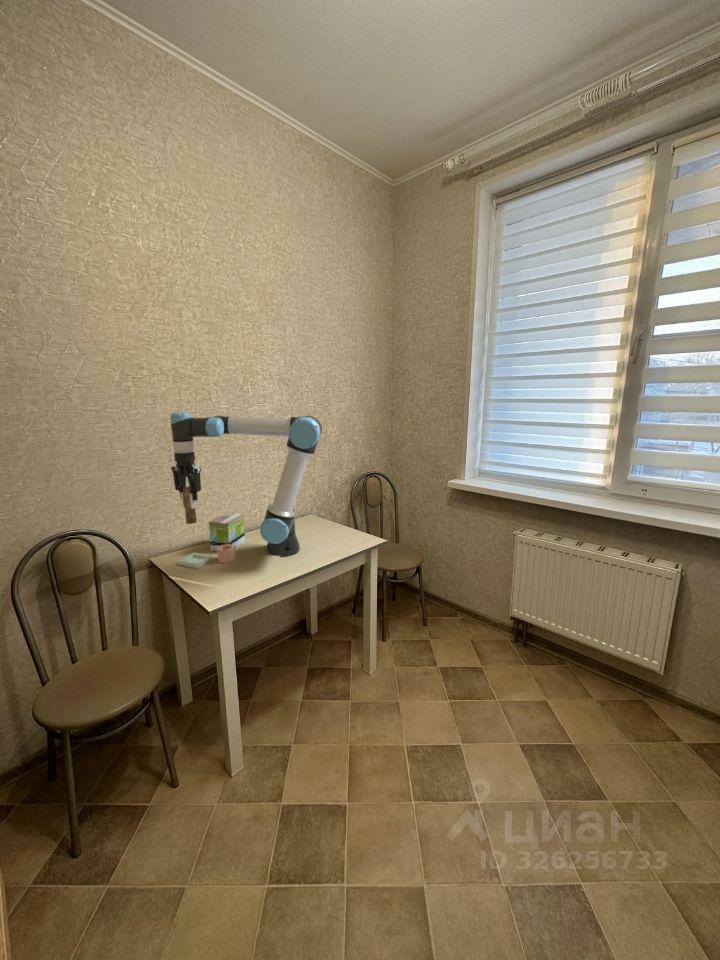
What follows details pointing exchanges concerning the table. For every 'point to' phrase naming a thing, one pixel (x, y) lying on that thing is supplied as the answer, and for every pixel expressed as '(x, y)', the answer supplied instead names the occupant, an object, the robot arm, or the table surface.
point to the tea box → (227, 530)
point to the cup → (226, 553)
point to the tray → (195, 560)
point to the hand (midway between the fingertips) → (189, 507)
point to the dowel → (188, 507)
